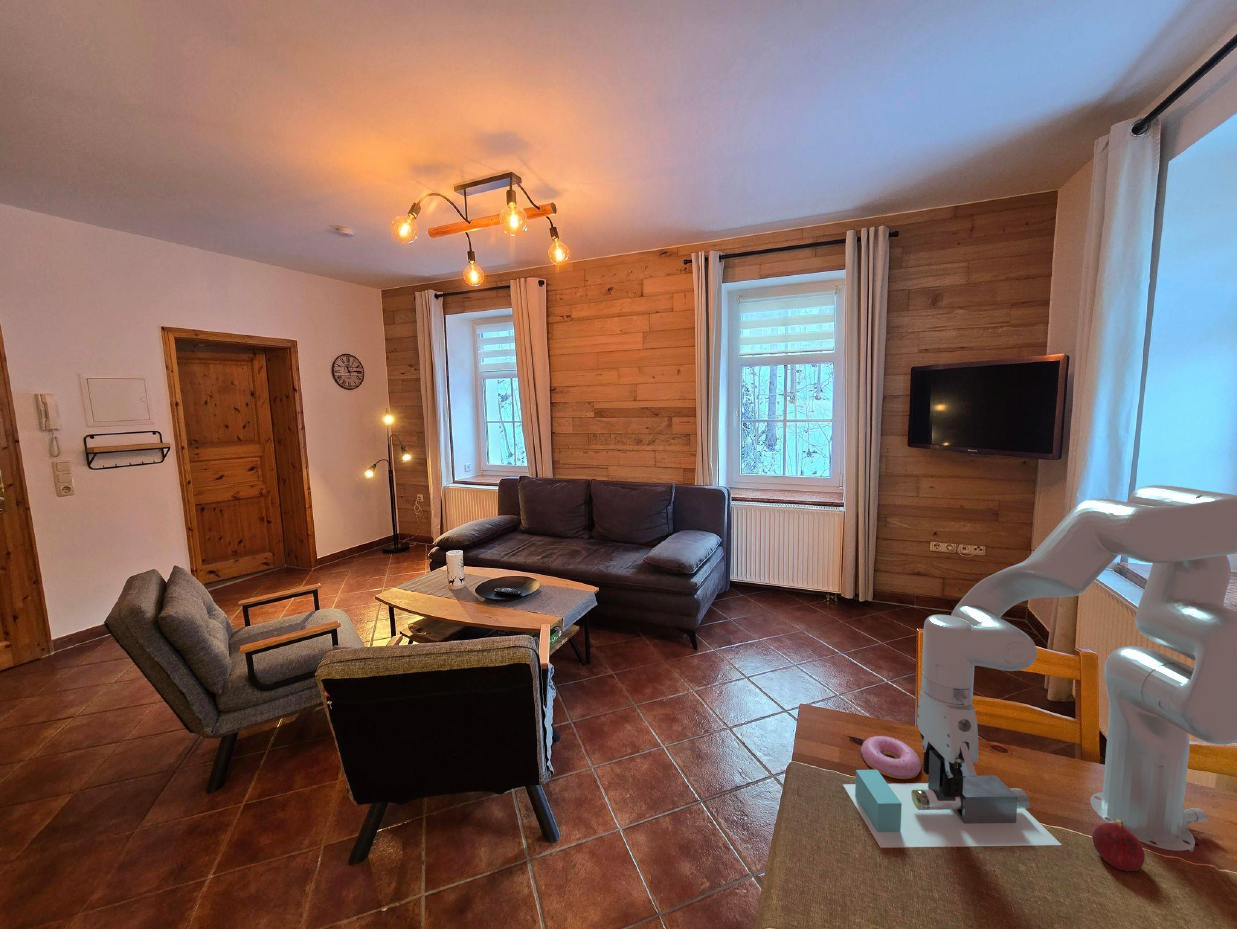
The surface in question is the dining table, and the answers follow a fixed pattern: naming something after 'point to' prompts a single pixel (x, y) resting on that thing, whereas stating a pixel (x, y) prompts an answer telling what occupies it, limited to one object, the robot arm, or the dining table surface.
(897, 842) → the base board
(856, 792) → the socket
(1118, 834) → the onion
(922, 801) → the silver bolt with handle
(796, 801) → the dining table surface
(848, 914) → the dining table surface
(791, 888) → the dining table surface
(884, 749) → the doughnut
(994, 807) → the sleeve
